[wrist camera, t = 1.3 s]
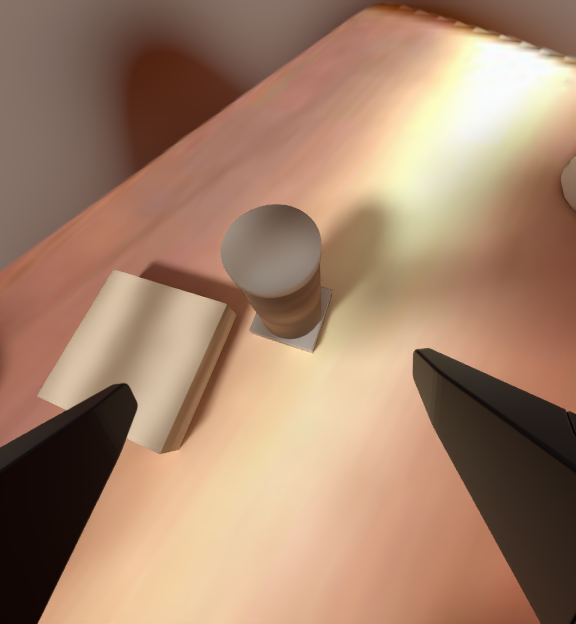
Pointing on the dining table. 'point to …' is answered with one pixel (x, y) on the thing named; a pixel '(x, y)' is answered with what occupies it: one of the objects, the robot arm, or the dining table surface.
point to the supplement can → (570, 182)
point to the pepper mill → (279, 273)
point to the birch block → (144, 355)
